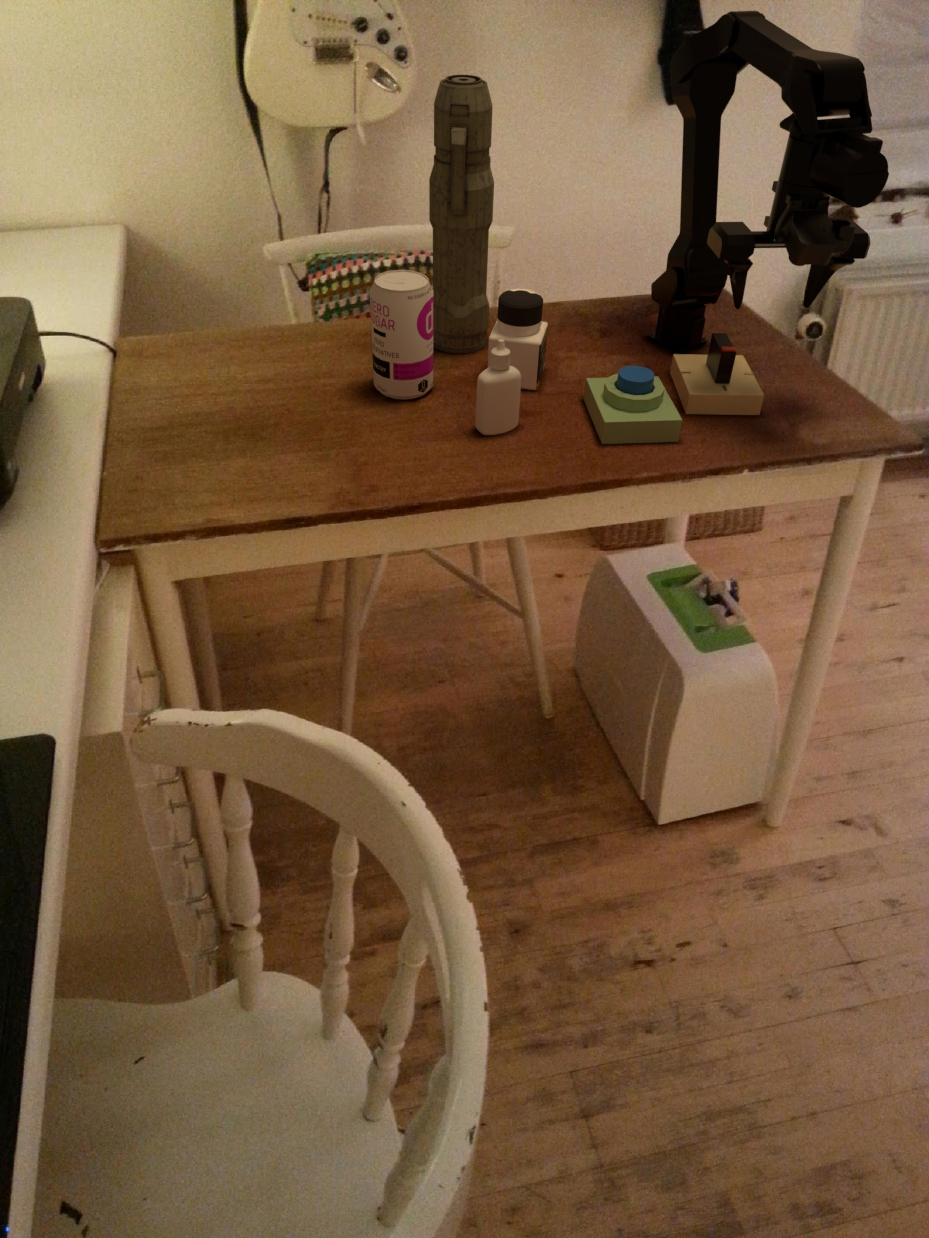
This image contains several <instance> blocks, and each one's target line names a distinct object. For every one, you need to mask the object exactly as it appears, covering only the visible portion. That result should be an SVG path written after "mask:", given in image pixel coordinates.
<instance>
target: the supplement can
mask: <svg viewBox="0 0 929 1238" xmlns="http://www.w3.org/2000/svg"><path fill="white" fill-rule="evenodd" d="M369 300H370V301H369V303H370V307H369V308H370V326H371V327H370V328H371V331H370V332H371V349H372V350H371V352H372V373H373V374H372V376H373V386H374V387H375V390H377V391H379V392H380V394H382V395H383V396H385V397H387V398H391V399H394V400H412V399H416V398H420V397H423V396H424V395H426V394H427V393H428V392H429V391H430V390H431V389H432V388H433V386H434V347H433V286H432V285H431V282H430V279H429V277H428V276H427V275H425V274H423V273H422V272H420V271H416V270H408V269H392V270H387V271H383V272H381V273H379V274H377V275H376V276H375V277H374V280H373V283H372V286H371V288H370V290H369Z"/></svg>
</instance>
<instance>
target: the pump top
mask: <svg viewBox="0 0 929 1238" xmlns="http://www.w3.org/2000/svg"><path fill="white" fill-rule="evenodd" d="M617 374H618V378H617V386H616V387H617V389H618V390H620V391H621V392H623V393H626V394H631V395H646V394H649V393H651V392H652V388H653V382H654V376H655V373H654V372H653V370H652V369H649V368H647V367H644V366H641V365H627V366H623V367H621V368H619V370H618V372H617Z"/></svg>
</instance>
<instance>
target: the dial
mask: <svg viewBox="0 0 929 1238" xmlns="http://www.w3.org/2000/svg"><path fill="white" fill-rule="evenodd" d="M708 346H709V347H708V351H707V355H708V356H707V361H706V364H707V367H708V369H709V371H710V373H711V375H712V378H713V380H714V382H715V383H726V384H729V383H730V379H731V375H732V370H733V366H734V361H735V357H736V355H737V351H736V348H735V346H734V345H733V343H732V342H731V339H730V337H729V335H728V333H726V332H712V333H711V337H710V341H709V345H708Z"/></svg>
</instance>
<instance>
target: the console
mask: <svg viewBox="0 0 929 1238" xmlns="http://www.w3.org/2000/svg"><path fill="white" fill-rule="evenodd" d="M707 356H708V354H695V353H694V354H693V353H692V354H691V353H690V354H688V353H687V354H683V353H674V354H672V359H671V366H670V370H669V374H670V377H671V380H672V382H673V385H674V387H675V390H676V393H677V395H678V397H679V400H680V403H681V406H682V408H683V410H684V414H685V415H725V416H727V415H729V416H731V415H732V416H733V415H734V416H760V415H761V409H762V407H763V402H764V399H765V394H764V392H763V389H762V388H761V386H760V385H759V383H758V381H757V379H756V377H755V375H756V374H755V372H753V371H752V369H751V367H750V365H749V363H748V362H747V360H746V358H745V356H744V355H743V354H736V357H735V361H734V366H733V370H732V375H731V379H730V383H729V384H726V383H715V382H714V380H713V378H712V375H711V373H710V371H709V369H708V367H707V364H706V361H707Z"/></svg>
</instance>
